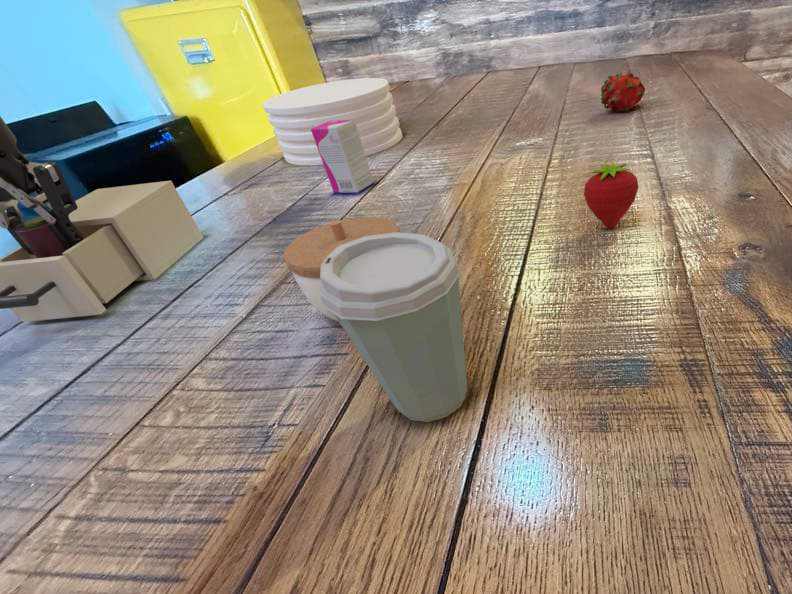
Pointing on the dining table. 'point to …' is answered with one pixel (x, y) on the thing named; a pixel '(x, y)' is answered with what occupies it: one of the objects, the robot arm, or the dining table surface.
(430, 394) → the disposable coffee cup
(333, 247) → the lidded bowl
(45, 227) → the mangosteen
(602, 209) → the strawberry
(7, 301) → the drawer
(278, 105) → the plate stack
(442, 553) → the dining table surface
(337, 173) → the supplement box
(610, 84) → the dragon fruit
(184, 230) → the cabinet
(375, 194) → the dining table surface
